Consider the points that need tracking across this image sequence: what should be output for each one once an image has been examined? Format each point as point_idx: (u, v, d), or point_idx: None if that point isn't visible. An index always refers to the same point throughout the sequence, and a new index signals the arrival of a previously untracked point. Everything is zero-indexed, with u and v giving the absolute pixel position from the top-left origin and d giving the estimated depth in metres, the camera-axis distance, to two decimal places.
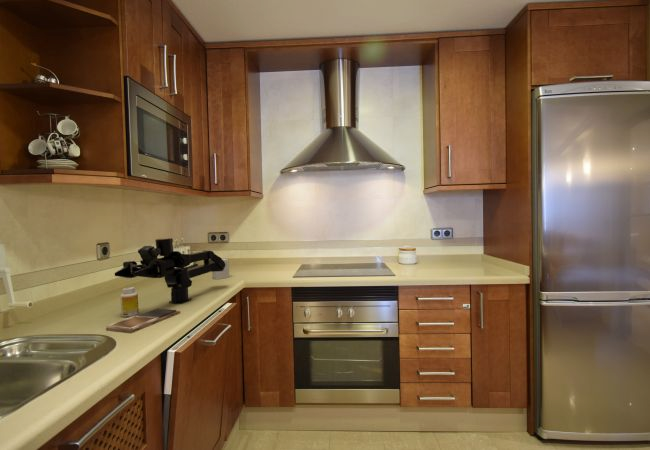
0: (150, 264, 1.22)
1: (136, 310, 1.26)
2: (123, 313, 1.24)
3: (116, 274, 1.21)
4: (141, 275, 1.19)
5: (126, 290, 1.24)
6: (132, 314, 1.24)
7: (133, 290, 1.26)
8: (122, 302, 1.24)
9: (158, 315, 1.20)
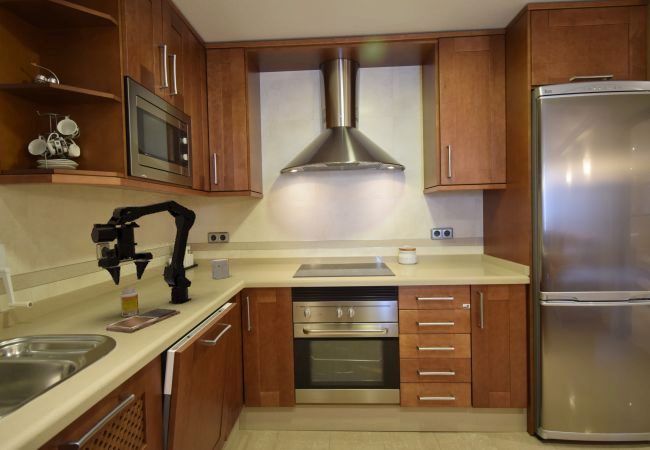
0: None
1: (136, 310, 1.26)
2: (123, 313, 1.24)
3: (138, 278, 1.30)
4: (116, 279, 1.20)
5: (126, 290, 1.24)
6: (132, 314, 1.24)
7: (133, 290, 1.26)
8: (122, 302, 1.24)
9: (158, 315, 1.20)
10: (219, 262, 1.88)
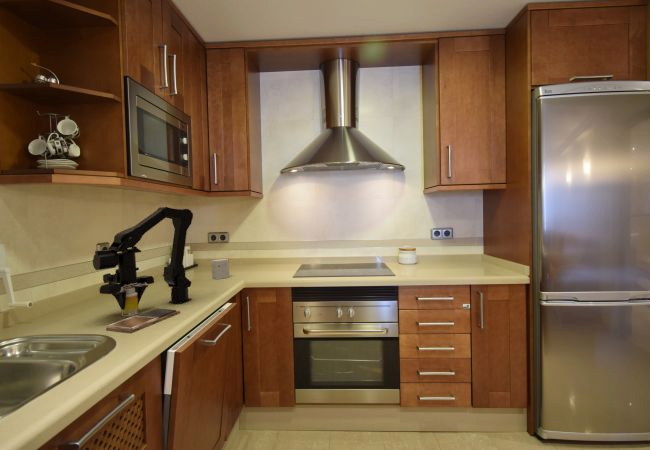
0: None
1: (136, 310, 1.26)
2: (123, 313, 1.24)
3: None
4: (122, 304, 1.22)
5: (126, 290, 1.24)
6: (132, 314, 1.24)
7: (133, 290, 1.26)
8: None
9: (158, 315, 1.20)
10: (219, 262, 1.88)
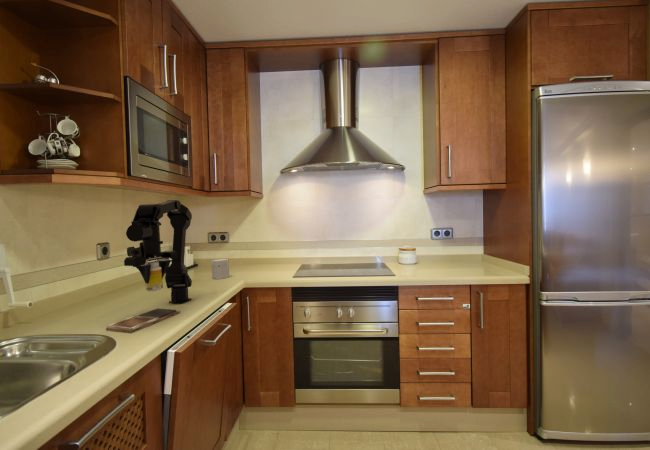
0: None
1: (160, 285, 1.22)
2: (147, 287, 1.20)
3: None
4: (146, 277, 1.19)
5: None
6: (156, 289, 1.21)
7: (157, 264, 1.22)
8: None
9: (158, 315, 1.20)
10: (219, 262, 1.88)
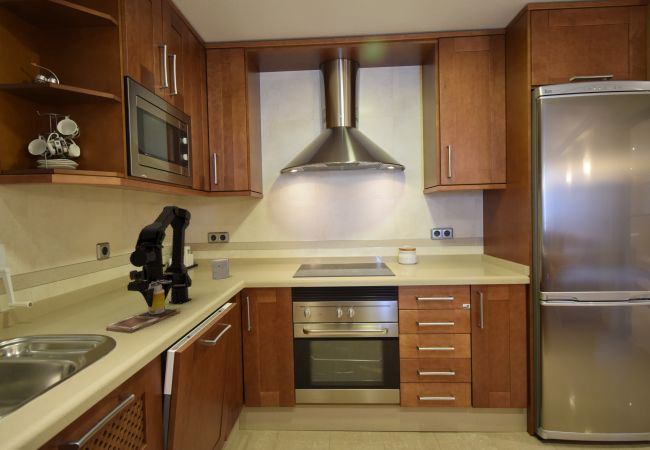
0: None
1: (163, 308, 1.23)
2: (150, 310, 1.21)
3: None
4: (149, 301, 1.19)
5: (153, 287, 1.21)
6: (159, 311, 1.21)
7: (160, 287, 1.23)
8: None
9: (158, 315, 1.20)
10: (219, 262, 1.88)
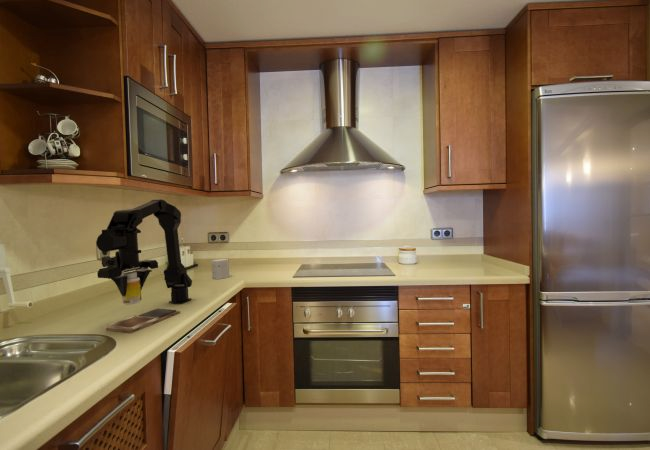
0: None
1: (139, 297, 1.13)
2: (124, 300, 1.11)
3: None
4: (123, 290, 1.09)
5: (127, 275, 1.11)
6: (134, 301, 1.12)
7: (135, 275, 1.13)
8: None
9: (158, 315, 1.20)
10: (219, 262, 1.88)
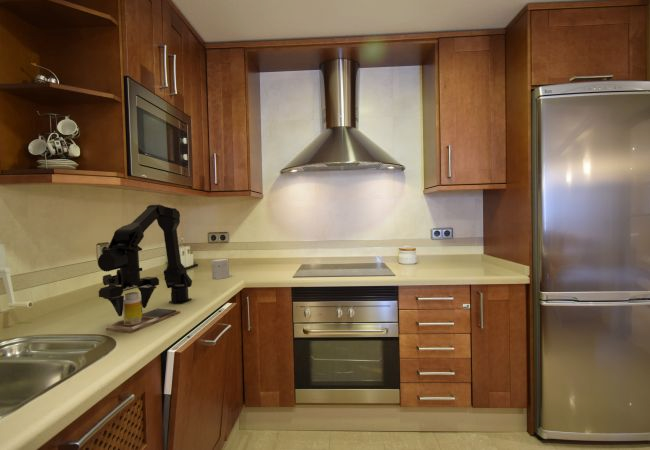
0: None
1: (140, 318, 1.13)
2: (125, 321, 1.11)
3: (143, 306, 1.18)
4: (119, 310, 1.08)
5: (129, 296, 1.12)
6: (135, 322, 1.12)
7: (136, 296, 1.13)
8: (124, 309, 1.11)
9: (158, 315, 1.20)
10: (219, 262, 1.88)
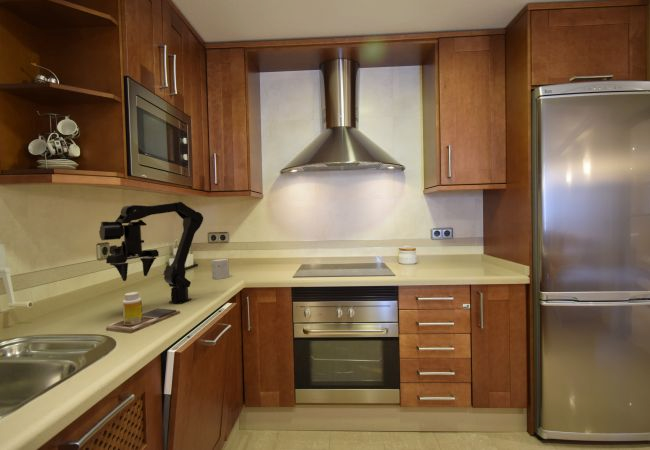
0: None
1: (140, 318, 1.13)
2: (125, 321, 1.11)
3: (145, 275, 1.34)
4: (124, 275, 1.24)
5: (129, 296, 1.12)
6: (135, 322, 1.12)
7: (136, 296, 1.13)
8: (124, 309, 1.11)
9: (158, 315, 1.20)
10: (219, 262, 1.88)
